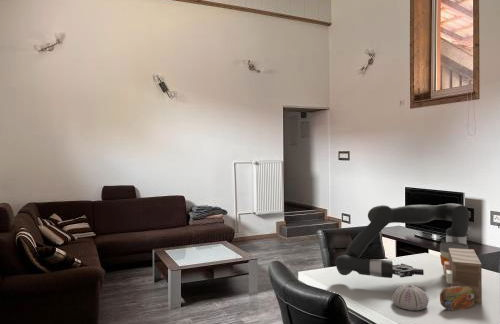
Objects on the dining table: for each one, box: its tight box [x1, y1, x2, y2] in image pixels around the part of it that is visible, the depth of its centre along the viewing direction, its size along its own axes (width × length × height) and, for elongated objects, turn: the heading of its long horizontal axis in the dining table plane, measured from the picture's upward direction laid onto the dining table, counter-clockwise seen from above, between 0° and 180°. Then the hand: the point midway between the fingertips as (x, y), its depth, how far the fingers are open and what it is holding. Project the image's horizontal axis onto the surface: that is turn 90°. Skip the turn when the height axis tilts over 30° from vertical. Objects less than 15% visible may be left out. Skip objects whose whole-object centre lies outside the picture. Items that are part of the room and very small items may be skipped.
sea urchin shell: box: [391, 284, 430, 312], centre depth 153 cm, size 13×14×8 cm
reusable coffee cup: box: [439, 241, 469, 277], centre depth 189 cm, size 13×13×15 cm
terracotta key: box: [444, 261, 450, 273], centre depth 175 cm, size 5×7×4 cm
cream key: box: [445, 270, 452, 284], centre depth 162 cm, size 5×7×4 cm
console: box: [448, 248, 483, 305], centre depth 166 cm, size 24×10×16 cm, turn 157°
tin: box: [439, 285, 476, 312], centre depth 150 cm, size 15×3×8 cm, turn 105°
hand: (423, 272), depth 167 cm, fingers closed
